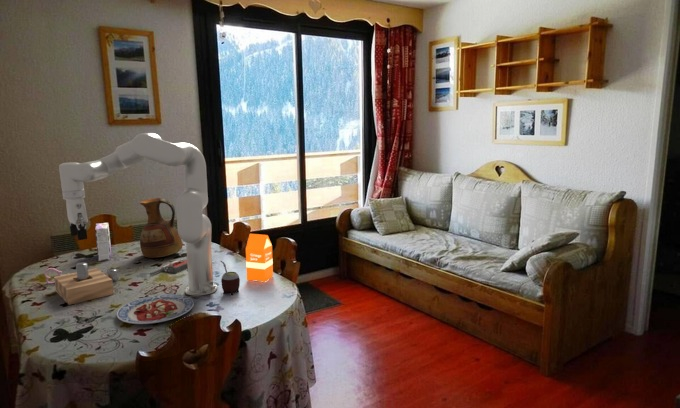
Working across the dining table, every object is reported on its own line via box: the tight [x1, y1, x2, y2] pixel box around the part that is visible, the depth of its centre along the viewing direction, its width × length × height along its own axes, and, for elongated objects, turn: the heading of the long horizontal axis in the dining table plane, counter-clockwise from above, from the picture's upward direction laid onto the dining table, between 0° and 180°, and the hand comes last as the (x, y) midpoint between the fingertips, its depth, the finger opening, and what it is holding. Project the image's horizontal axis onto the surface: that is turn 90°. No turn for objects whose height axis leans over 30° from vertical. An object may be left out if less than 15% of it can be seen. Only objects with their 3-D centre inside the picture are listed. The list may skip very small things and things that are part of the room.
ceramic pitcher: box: [139, 197, 183, 259], centre depth 233 cm, size 20×20×30 cm
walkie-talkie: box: [149, 258, 188, 276], centre depth 212 cm, size 9×4×20 cm
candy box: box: [95, 222, 112, 262], centre depth 233 cm, size 14×6×16 cm, turn 25°
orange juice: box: [245, 233, 274, 282], centre depth 199 cm, size 8×9×20 cm
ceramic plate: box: [116, 293, 195, 325], centre depth 166 cm, size 26×26×3 cm
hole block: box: [53, 267, 115, 306], centre depth 185 cm, size 20×16×6 cm
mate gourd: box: [220, 260, 241, 296], centre depth 183 cm, size 8×8×15 cm
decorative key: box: [43, 267, 71, 285], centre depth 199 cm, size 7×1×20 cm
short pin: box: [107, 268, 120, 284], centre depth 198 cm, size 4×4×5 cm
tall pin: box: [75, 261, 89, 282], centre depth 184 cm, size 4×4×12 cm
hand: (79, 237), depth 182 cm, fingers open, 9 cm apart
